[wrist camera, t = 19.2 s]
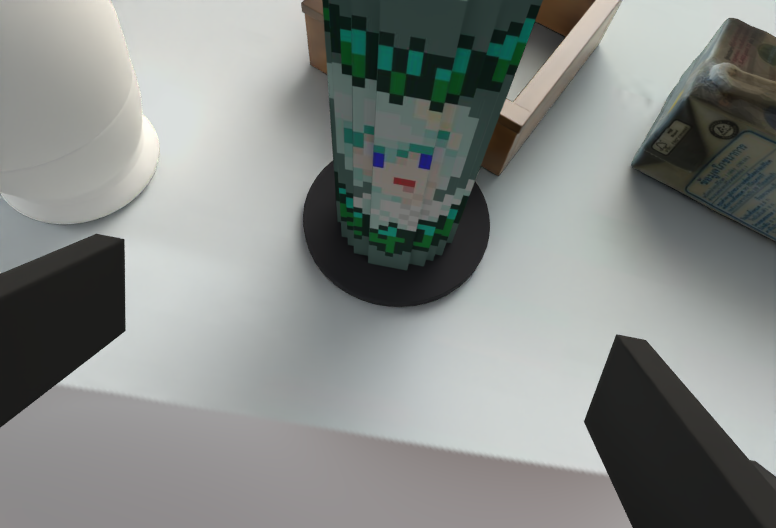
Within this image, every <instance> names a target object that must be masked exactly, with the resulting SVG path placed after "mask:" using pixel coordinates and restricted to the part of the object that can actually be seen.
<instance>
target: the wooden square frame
mask: <svg viewBox="0 0 776 528" xmlns="http://www.w3.org/2000/svg"><path fill="white" fill-rule="evenodd" d="M621 2H622V0H543V1H542V4H541V7H540V9H539V12H538V15H537V17H536V20H535V21H536V22H537V23H539V24H541V25H543V26H545V27H547V28H549V29H551V30H553V31H555V32H557V33H559V34H561V35H563V36H565V39H564V40H563V41H562V42H561V43H560V45H559V46H558V47H557V48H556V50H555V51H554V52H553V53H552V55H551V56H550V57H549V58H548V59H547V61H546V62H545V63H544V64H543V66H542V67H541V68H540V69H539V71H538V72H537V73H536V74H535V75H534V77H533V78H532V79H531V80H530V82H529V83H528V84H527V85H526V87H525V88H524V89H523V90H522V92H521V93H520V94H519V95H518V96H517V98H516V99H515V100H514V101H513V102H512V101H510V100H508V99H507V98H506V100H505V102H504V105H503V108H502V110H501V113H500V116H499V118H498V121H497V124H496V126H495V129H494V132H493V134H492V137H491V140H490V142H489V145H488V148H487V150H486V153H485V156H484V158H483V161H482V164H481V166H482V167H484V168H485V169H487V170H489V171H490V172H492V173H494V174H495V175H497V176H499V175H500V174H501V173H502V171H503V170H504V169H505V167H506V166H507V164H508V163H509V162H510V161H511V159H512V158H513V157H514V155H515V154H516V153H517V151H518V150H519V149H520V147H521V146H522V145H523V143H524V142H525V141H526V140H527V138H528V137H529V136H530V134H531V133H532V132H533V130H534V129H535V128H536V126H537V125H538V124H539V122H540V121H541V120H542V118H543V117H544V116H545V114H546V113H547V112H548V110H549V109H550V108H551V107H552V105H553V104H554V103H555V101H556V100H557V99H558V97H559V96H560V95H561V93H562V92H563V91H564V89H565V88H566V87H567V85H568V84H569V83H570V81H571V80H572V79H573V77H574V76H575V75H576V74H577V72H578V71H579V70H580V68H581V67H582V66H583V64H584V63H585V62H586V60H587V59H588V58H589V56H590V55H591V54H592V52H593V51H594V50H595V48H596V47H597V46H598V45H599V43H600V41H601V40H602V38H603V36H604V34H605V32H606V30H607V28H608V26H609V25H610V23H611V21H612V19H613V17H614V15H615V13H616V12H617V10H618V8H619V6H620V4H621ZM301 6H302V12H303V13H305V21H306V30H307V39H308V49H309V58H310V65H312V66H313V67H315V68H317V69H318V70H320V71H322V72H323V73H325V74H327V61H326V47H325V32H324V18H323V3H322V0H304V1H303V2H302V3H301Z"/></svg>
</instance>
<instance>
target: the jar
mask: <svg viewBox="0 0 776 528" xmlns="http://www.w3.org/2000/svg"><path fill="white" fill-rule="evenodd" d="M159 152H160V148H159V140H158V136H157V134H156V131H155V129H154V127H153V126H152V124H151V123H150V121H149V120H148V119H147V118H146V117H145V116H144V115H143V111H142V99H141V93H140V89H139V85H138V81H137V77H136V74H135V71H134V68H133V65H132V63H131V60H130V56H129V52H128V48H127V45H126V41H125V38H124V35H123V31H122V28H121V25H120V23H119V20H118V17H117V14H116V12H115V9H114V7H113V4H112V2H111V0H0V194H1V195H2V197H3V198H4V199H5V200H6V202H7V203H8V204H9V205H10V206H11V207H13V208H14V209H15V210H16V211H18V212H20V213H21V214H23V215H25V216H27V217H29V218H32V219H35V220H38V221H41V222H46V223H53V224H76V223H82V222H87V221H92V220H95V219H98V218H101V217H104V216H107V215H109V214H111V213H113V212H115V211H117V210H119V209H120V208H122V207H124V206H125V205H127V204H128V203H129V202H131V201H132V200H133V199H134V198H136V197H137V196H138V195H139V194H140V193H141V192H142V191H143V189H144V188H145V187H146V186H147V184H148V183H149V181H150V180H151V178H152V177H153V175H154V173H155V170H156V167H157V164H158V160H159Z"/></svg>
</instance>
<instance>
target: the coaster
mask: <svg viewBox="0 0 776 528" xmlns="http://www.w3.org/2000/svg"><path fill="white" fill-rule="evenodd" d="M303 227H304V232H305V237H306V242H307V245H308V248H309V251H310V253H311V255H312V257H313V259H314V261H315V263H316V264H317V265H318V267H319V268H320V270H321V271H322V272H323V273H324V274H325V275H326V276H327V278H328V279H329V280H330V281H332V282H333V283H334V284H335V285H337V286H338V287H339V288H340V289H342V290H344V291H345V292H347V293H349V294H350V295H352V296H354V297H357V298H359V299H361V300H364V301H367V302H370V303H374V304H378V305H384V306H394V307H405V306H416V305H421V304H426V303H429V302H432V301H435V300H438V299H440V298H442V297H444V296H446V295H448V294H450V293H451V292H453V291H454V290H456V289H457V288H459V287H460V286H461V285H462V284H463V283H464V282H465V281H466V280H467V279H468V278H469V277H470V276H471V275H472V273H473V272H474V271H475V269H476V268H477V266H478V264H479V263H480V261H481V259H482V257H483V255H484V252H485V250H486V248H487V244H488V239H489V232H490V219H489V212H488V208H487V204H486V201H485V199H484V196H483V194H482V192H481V190H480V188H479V186H478V185H477V183H476V182H474V185H473V187H472V190H471V193H470V195H469V198H468V201H467V203H466V206H465V209H464V211H463V214H462V217H461V219H460V222H459V225H458V227H457V230H456V233H455V235H454V238H453V241H452V243H447V242H446V245H445V248H444V251H443V254H442V255H437V254H435V256H434V259H433V261H431V260H426V262H425V265H424V266H419V265H414V264H408V269H407V270H401V269H396V268H391V267H386V266H380V265H375V264H370V263H368V256H366V255H361V254H356V253H354V246H351V245H348V238H347V237H342V232H341V222H338V220H337V206H336V191H335V177H334V162H333V161H332V162H331V163H330V164H328V165H327V166H326V167H325V168H324V169H323V170H322V172H321V173H320V174H319V175H318V176H317V178H316V179H315V181H314V183H313V184H312V186H311V188H310V190H309V192H308V195H307V198H306V201H305V205H304V213H303Z"/></svg>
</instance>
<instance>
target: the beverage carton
mask: <svg viewBox="0 0 776 528" xmlns="http://www.w3.org/2000/svg"><path fill="white" fill-rule="evenodd" d="M631 166H632V167H633V168H635V169H637V170H639V171H641V172H643V173H644V174H646V175H648V176H650V177H652V178H654V179H656V180H658V181H660V182H662V183H664V184H666V185H668V186H670V187H672V188H674V189H676V190H677V191H679V192H681V193H683V194H685V195H686V196H688V197H690V198H692V199H694V200H696V201H697V202H699V203H701V204H703V205H705V206H707V207H709V208H710V209H712V210H714V211H716V212H718V213H720V214H722V215H724V216H726V217H728V218H730V219H732V220H734V221H736V222H738V223H740V224H742V225H744V226H746V227H748V228H750V229H752V230H754V231H756V232H758V233H760V234H762V235H764V236H766V237H768V238H770V239H772V240H774V241H776V37H774V36H772V35H771V34H769V33H767V32H765V31H763V30H760V29H758V28H755V27H752V26H750V25H748V24H746V23H744V22H743V21H741V20H739V19H735V18H728V19H727V20H726V21H725V22H724V23H723V25H722V26H721V27H720V28H719V30H718V31H717V32H716V34H715V35H714V36H713V38H712V39H711V41H710V42H709V43H708V45H707V46H706V47H705V49H704V50H703V51H702V52H701V53H700V55H699V56H698V57H697V58H696V59H695V60H694V61H693V62H692V64H691V65H690V66H689V68H688V69H687V70H686V71H685V72H684V74H683V75H682V76H681V78H680V80H679V83H678V84H677V85H676V86H675V88H674V89H673V90H672V92H671V93H670V95H669V96H668V98H667V100H666V103H665V105H664V107H663V109H662V111H661V113H660V114H659V116H658V117H657V119H656V121H655V123H654V125H653V126H652V128H651V130H650V131H649V133H648V135H647V137H646V138H645V140H644V142H643V144H642V145H641V147H640V148H639V150H638V151H637V153H636V155H635V157H634V159H633V161H632V164H631Z"/></svg>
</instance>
